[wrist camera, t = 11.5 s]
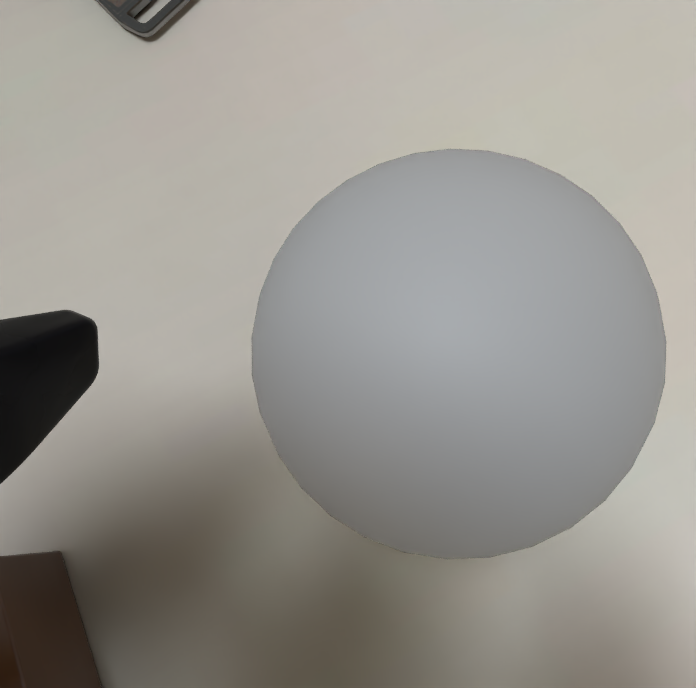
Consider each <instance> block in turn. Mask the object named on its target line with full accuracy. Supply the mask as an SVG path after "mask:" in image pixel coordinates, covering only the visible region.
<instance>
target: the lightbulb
mask: <svg viewBox="0 0 696 688" xmlns="http://www.w3.org/2000/svg"><path fill="white" fill-rule="evenodd" d="M665 364H666V337H665V332H664V326H663V321H662V315H661V310H660V304H659V300H658V296H657V292H656V289H655V287H654V284H653V282H652V279H651V277H650V275H649V272H648V270H647V267H646V265H645V263H644V260H643V258H642V255H641V254H640V252H639V251H638V249H637V248H636V246H635V245H634V243H633V242H632V240H631V239H630V237H629V236H628V235H627V233H626V232H625V230H624V229H623V227H622V226H621V224H620V223H619V222H618V221H617V220H616V219H615V218H614V217H613V216H612V215H611V214H610V213H609V212H608V211H607V210H606V209H605V208H604V207H603V206H602V205H601V204H600V203H599V202H598V201H597V200H596V199H595V198H594V197H593V196H592V195H590V194H589V193H587V192H586V191H584V190H583V189H581V188H580V187H578V186H577V185H575V184H574V183H572V182H571V181H569V180H568V179H566V178H565V177H563V176H562V175H560V174H558V173H556V172H554V171H551V170H549V169H547V168H544V167H542V166H540V165H537V164H535V163H533V162H530V161H528V160H526V159H522V158H517V157H513V156H509V155H504V154H500V153H496V152H491V151H483V150H463V149H446V150H437V151H429V152H421V153H414V154H410V155H407V156H404V157H400V158H397V159H394V160H391V161H387V162H384V163H381V164H378V165H376V166H374V167H372V168H370V169H368V170H366V171H364V172H362V173H360V174H358V175H356V176H354V177H352V178H350V179H348V180H346V181H345V182H344V183H342V184H341V185H340V186H338V187H337V188H336V189H334V190H333V191H332V192H330V193H329V194H328V195H326V196H325V197H324V198H322V199H321V200H320V201H318V202H317V203H316V204H315V205H314V206H313V208H312V209H311V210H310V211H309V212H308V213H307V214H306V215H305V216H304V217H303V218H302V219H301V220H300V222H299V223H298V224H297V225H296V226H295V227H294V228H293V229H292V231H291V232H290V234H289V236H288V237H287V239H286V240H285V242H284V244H283V245H282V247H281V248H280V250H279V251H278V253H277V255H276V256H275V258H274V260H273V262H272V265H271V267H270V270H269V272H268V275H267V277H266V280H265V282H264V285H263V287H262V290H261V293H260V297H259V301H258V306H257V311H256V317H255V322H254V327H253V333H252V377H253V382H254V387H255V392H256V396H257V401H258V406H259V410H260V414H261V416H262V418H263V421H264V423H265V425H266V428H267V430H268V432H269V434H270V437H271V439H272V441H273V444H274V446H275V448H276V451H277V453H278V455H279V457H280V458H281V460H282V461H283V462H284V464H285V465H286V467H287V468H288V470H289V471H290V473H291V474H292V475H293V477H294V478H295V480H296V481H297V483H298V484H299V485H300V487H301V488H302V489H303V490H304V491H305V492H306V493H307V494H308V495H309V496H310V497H311V498H312V499H314V500H315V501H316V502H317V503H318V504H319V505H320V506H321V507H322V508H323V509H324V510H325V511H326V512H327V513H328V514H329V515H330V516H332V517H334V518H335V519H337V520H338V521H340V522H341V523H343V524H345V525H346V526H348V527H349V528H351V529H353V530H354V531H356V532H357V533H359V534H360V535H362V536H364V537H365V538H368V539H371V540H373V541H376V542H379V543H381V544H384V545H386V546H389V547H392V548H394V549H397V550H400V551H402V552H406V553H412V554H418V555H424V556H430V557H436V558H443V559H463V558H486V557H493V556H497V555H501V554H505V553H509V552H513V551H517V550H521V549H525V548H529V547H532V546H535V545H537V544H539V543H541V542H543V541H545V540H547V539H549V538H551V537H553V536H555V535H557V534H559V533H561V532H563V531H565V530H567V529H569V528H571V527H572V526H574V525H575V524H576V523H577V522H579V521H580V520H581V519H582V518H584V517H585V516H586V515H588V514H589V513H590V512H591V511H593V510H594V509H595V508H596V507H598V506H599V505H600V504H601V503H603V502H604V501H605V500H606V499H607V497H608V496H609V495H610V494H611V493H612V491H613V490H614V489H615V488H616V487H617V485H618V484H619V483H620V482H621V480H622V479H623V478H624V477H625V476H626V474H627V473H628V472H629V471H630V469H631V468H632V466H633V464H634V462H635V460H636V458H637V456H638V454H639V452H640V450H641V449H642V447H643V445H644V443H645V441H646V439H647V437H648V435H649V433H650V431H651V429H652V427H653V425H654V423H655V419H656V415H657V411H658V407H659V403H660V399H661V396H662V392H663V388H664V384H665Z"/></svg>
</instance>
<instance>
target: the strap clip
mask: <svg viewBox="0 0 696 688" xmlns="http://www.w3.org/2000/svg"><path fill="white" fill-rule="evenodd" d="M96 1H97V2H98V3H99V4H100V5H101V6H102V7H103V8H104V9H105V10H106V11H107V12H108V13H109V14H110V15H111V16H112V17H113V18H114V19H115V20H116V21H117V22H118V23H119V24H120V25H121V26H122V27H123V28H125V29H127V30H129V31H131V32H133V33H135V34H137V35H139V36H142V37H149V36H152V35H153V34H155V33H156V32H157V31H158V30H159V29H160V28H161V27H162V26H163V25H164V24H165V23H167V22H168V21H169V20H170V19H171V18H172V17H173V16H174V15H175V14H176V13H177V12H178V11H179V10H180V9H181V8H183V7H184V6H185V5H186V4H187V3H188V2H189V1H190V0H171V1H170V2H169V3H168V4H166V5H165V6H164V7H163V8H162V9H161V10H160V11H159V12H158V13H157V14H156V15H155V16H154V17H153V18H151V19H150V20H149V21H148V22H146V23H140V22H138V21H137V20H135V19H134V18H133V17H134V16H135V15H136V14H138V13H139V12H140V11H141V10H142V9H143V8H144V7H145V6H146V5H147V4H148V3H149V2H150V1H152V0H96Z"/></svg>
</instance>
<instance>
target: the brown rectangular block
mask: <svg viewBox="0 0 696 688" xmlns="http://www.w3.org/2000/svg"><path fill="white" fill-rule="evenodd" d="M0 688H102V687H101V684H100V680H99V677H98V674H97V670H96V667H95V664H94V660H93V657H92V654H91V651H90V647H89V644H88V641H87V637H86V634H85V631H84V627H83V624H82V621H81V617H80V614H79V611H78V607H77V604H76V601H75V597H74V594H73V591H72V587H71V584H70V581H69V577H68V574H67V571H66V568H65V564H64V561H63V558H62V554H61V552H60V551H52V552H41V553H30V554H20V555H9V556H0Z"/></svg>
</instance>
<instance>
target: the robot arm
mask: <svg viewBox="0 0 696 688" xmlns="http://www.w3.org/2000/svg"><path fill="white" fill-rule="evenodd" d="M98 369H99V355H98V330H97V326H96V324H95V322H94V321H93V320H92V319H90V318H88V317H86V316H84V315H81V314H79V313H77V312H74V311H71V310H60V311H54V312H48V313H41V314H35V315H28V316H22V317H16V318H9V319H3V320H0V484H1V483H2V482H3V481H4V480H5V479H6V478H7V477H8V476H9V475H11V474H12V473H13V472H14V471H15V470H16V469H17V468H18V467H19V466H20V465H21V464H22V463H23V462H24V461H25V460H26V458H27V457H28V456H29V455H30V454H31V453H32V452H33V451H34V450H35V449H36V448H37V446H38V445H39V444H40V443H41V442H42V441H43V440H44V438H45V437H46V436H47V435H48V434H49V433H50V432H51V430H52V429H53V428H54V427H55V426H56V425H57V424H58V422H59V421H60V420H61V419H62V418H63V417H64V416H65V414H66V413H67V412H68V411H69V410H70V409H71V408H72V406H73V405H74V404H75V403H76V402H77V401H78V400H79V398H80V397H81V396H82V395H83V394H84V393H85V391H86V390H87V389H88V388H89V387H90V386H91V384H92V383H93V382H94V380H95V378H96V376H97V373H98Z"/></svg>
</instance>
